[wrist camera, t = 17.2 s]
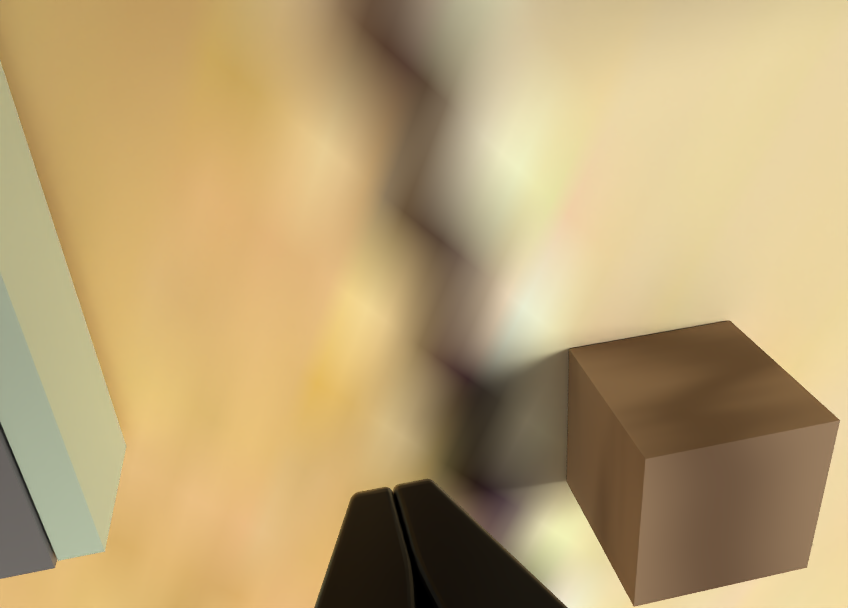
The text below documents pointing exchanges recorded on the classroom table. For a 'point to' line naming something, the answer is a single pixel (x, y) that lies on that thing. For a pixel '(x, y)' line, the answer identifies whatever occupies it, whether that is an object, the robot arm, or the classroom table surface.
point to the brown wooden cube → (695, 459)
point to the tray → (50, 364)
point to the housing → (20, 522)
